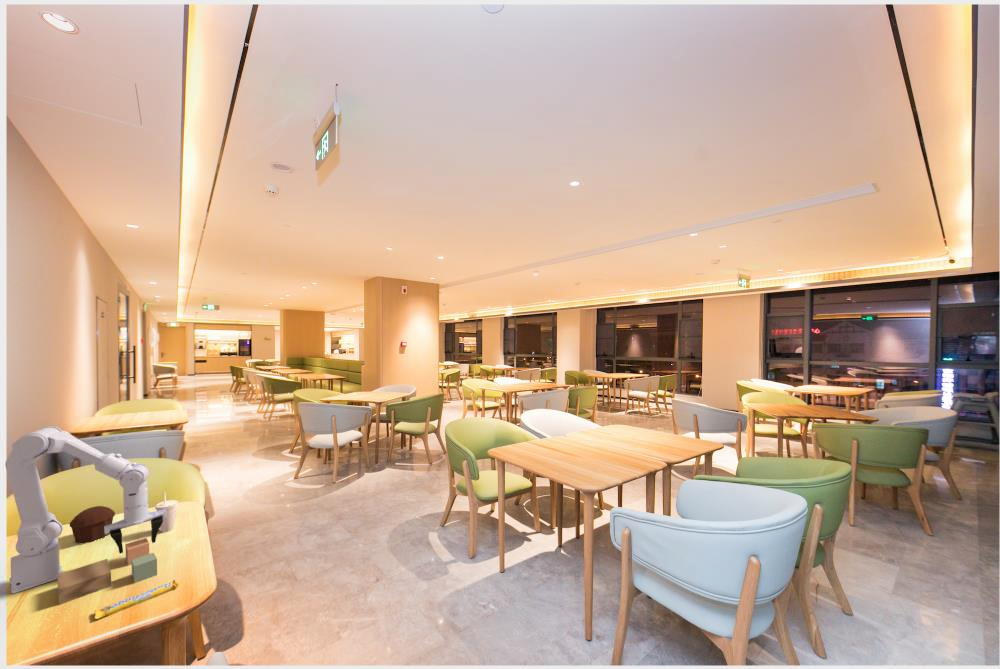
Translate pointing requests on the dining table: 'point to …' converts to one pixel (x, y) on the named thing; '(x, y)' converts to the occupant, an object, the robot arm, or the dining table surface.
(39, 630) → the dining table surface
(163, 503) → the smoothie
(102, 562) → the walnut block
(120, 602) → the candy bar
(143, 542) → the terracotta cube
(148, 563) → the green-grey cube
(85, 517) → the muffin
